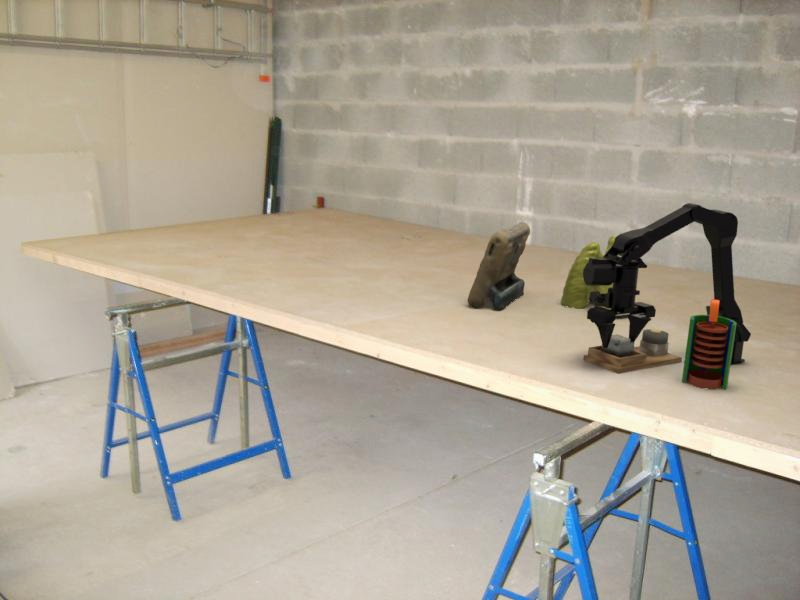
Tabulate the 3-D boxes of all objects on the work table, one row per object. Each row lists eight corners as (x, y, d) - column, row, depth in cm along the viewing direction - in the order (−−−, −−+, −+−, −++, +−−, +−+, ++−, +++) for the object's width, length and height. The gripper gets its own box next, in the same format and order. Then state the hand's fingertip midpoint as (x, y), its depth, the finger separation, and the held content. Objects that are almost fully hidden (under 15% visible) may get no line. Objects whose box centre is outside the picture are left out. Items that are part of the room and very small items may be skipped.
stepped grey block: (632, 361, 205) (634, 339, 204) (618, 363, 203) (620, 341, 201) (614, 354, 210) (617, 333, 209) (600, 357, 208) (602, 335, 206)
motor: (685, 387, 191) (696, 304, 187) (678, 375, 200) (688, 295, 195) (730, 391, 190) (742, 307, 185) (721, 379, 198) (733, 299, 194)
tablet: (487, 288, 288) (492, 218, 282) (526, 293, 284) (532, 221, 278) (465, 308, 258) (470, 230, 252) (508, 313, 254) (515, 234, 248)
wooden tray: (681, 361, 211) (683, 345, 210) (618, 373, 199) (620, 356, 198) (645, 349, 221) (647, 333, 220) (583, 359, 209) (584, 343, 208)
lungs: (643, 317, 257) (652, 241, 252) (606, 321, 250) (615, 243, 244) (588, 299, 278) (595, 229, 273) (553, 303, 271) (559, 231, 265)
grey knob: (671, 354, 212) (674, 332, 211) (654, 357, 209) (657, 334, 208) (652, 347, 218) (654, 326, 216) (635, 350, 214) (637, 328, 213)
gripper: (626, 276, 214) (620, 333, 217) (574, 281, 204) (568, 341, 207) (660, 284, 204) (653, 344, 208) (606, 290, 195) (600, 353, 198)
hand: (618, 345), depth 206 cm, fingers open, 9 cm apart
